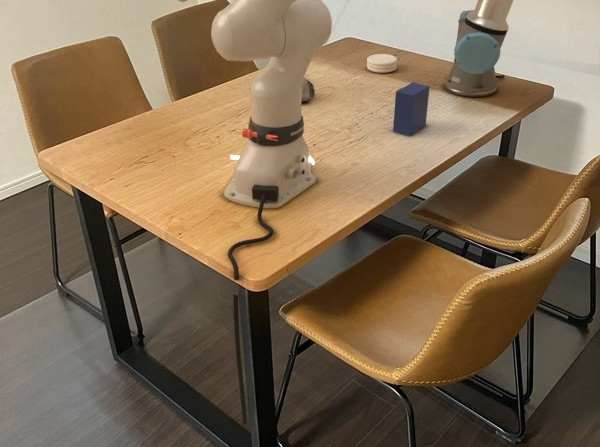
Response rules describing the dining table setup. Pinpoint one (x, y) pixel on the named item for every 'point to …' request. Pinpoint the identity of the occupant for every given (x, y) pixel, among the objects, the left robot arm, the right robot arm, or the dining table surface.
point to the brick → (411, 108)
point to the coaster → (381, 63)
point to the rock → (307, 90)
